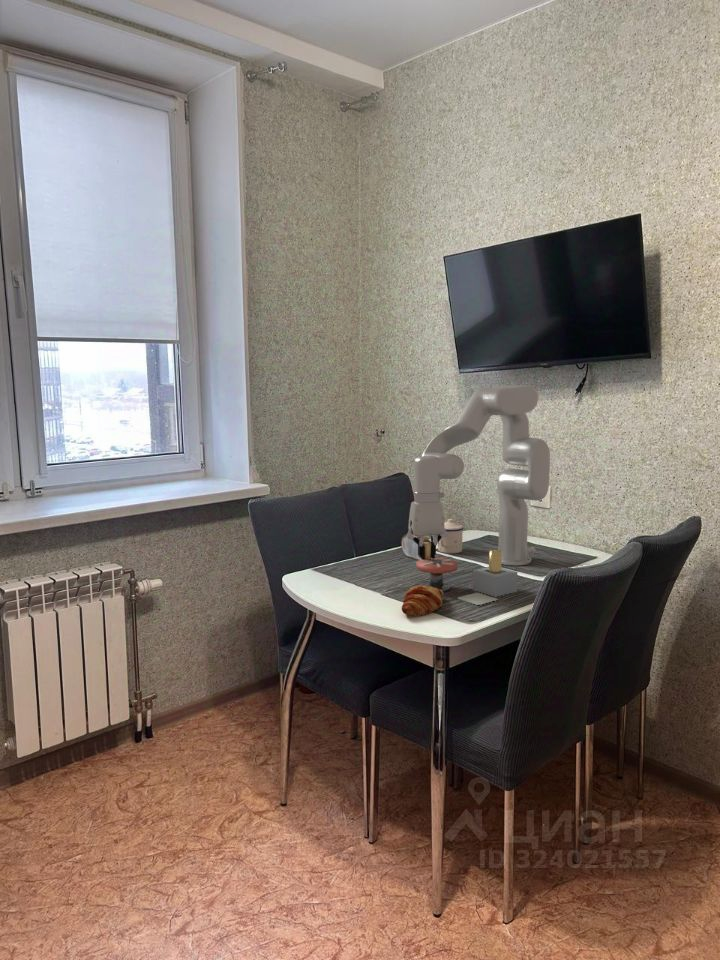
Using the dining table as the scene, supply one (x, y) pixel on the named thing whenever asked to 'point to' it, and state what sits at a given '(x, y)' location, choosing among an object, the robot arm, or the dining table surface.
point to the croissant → (422, 600)
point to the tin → (411, 547)
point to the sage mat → (477, 598)
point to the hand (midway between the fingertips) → (426, 557)
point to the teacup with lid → (451, 538)
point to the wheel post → (437, 582)
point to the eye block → (494, 581)
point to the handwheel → (435, 563)
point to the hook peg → (495, 561)
